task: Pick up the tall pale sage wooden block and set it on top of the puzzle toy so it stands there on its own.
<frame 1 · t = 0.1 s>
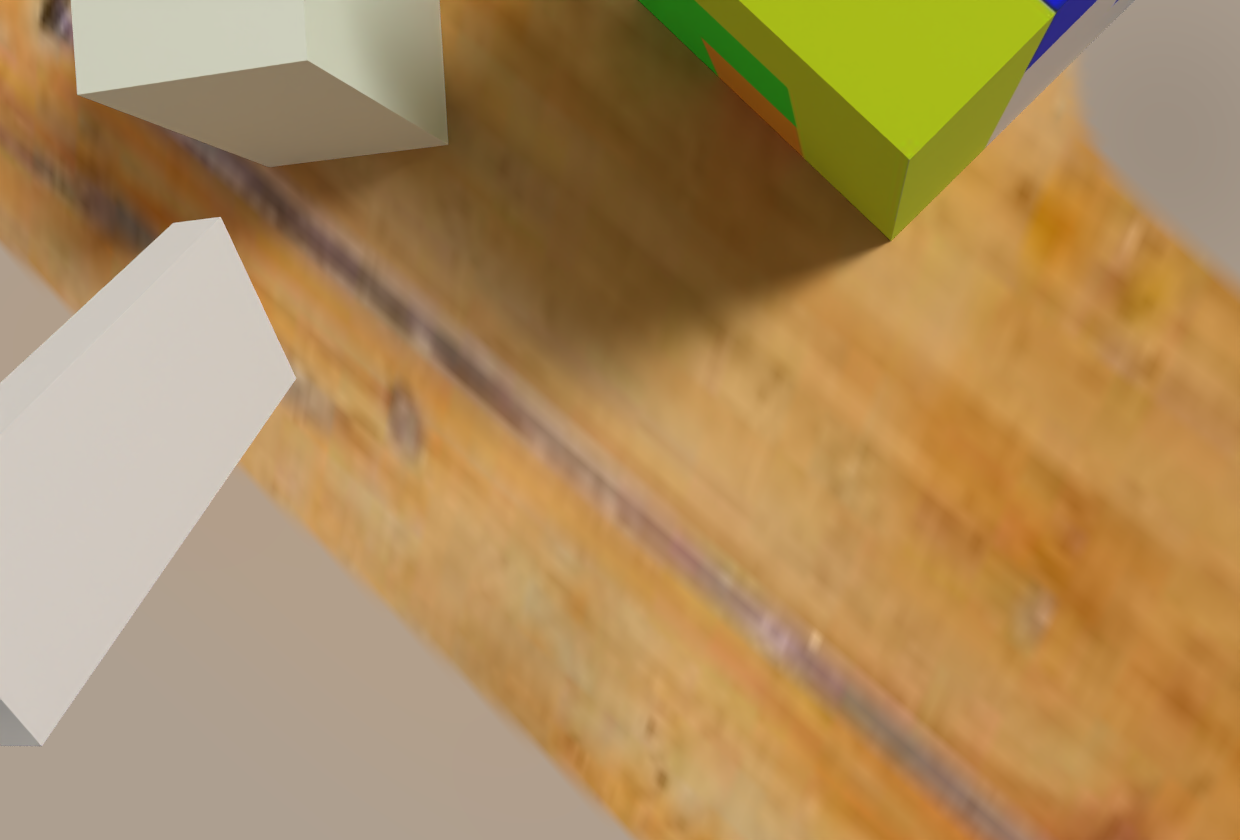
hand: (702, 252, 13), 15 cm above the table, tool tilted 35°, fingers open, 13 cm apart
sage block: (350, 57, 31), on the table
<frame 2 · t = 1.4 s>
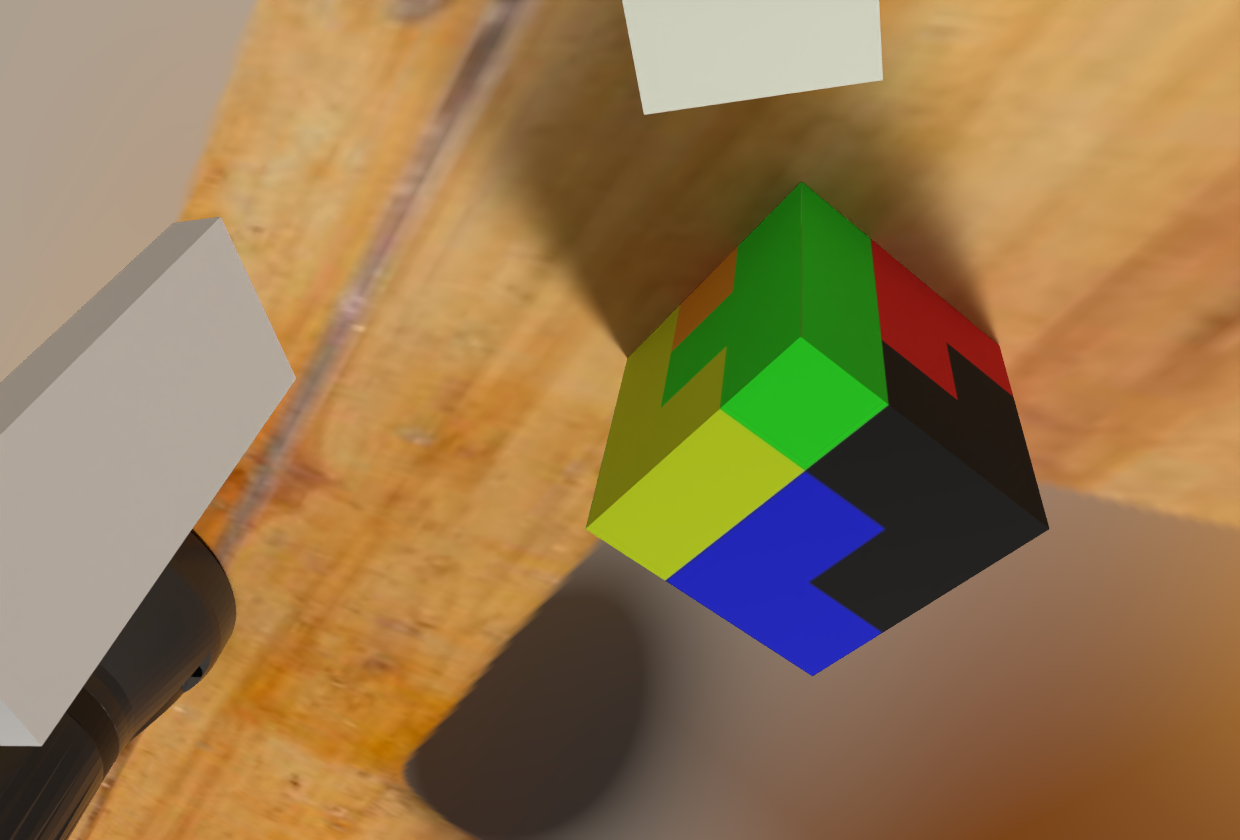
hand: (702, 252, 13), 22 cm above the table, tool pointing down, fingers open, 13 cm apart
puzzle toy: (806, 348, 40), on the table
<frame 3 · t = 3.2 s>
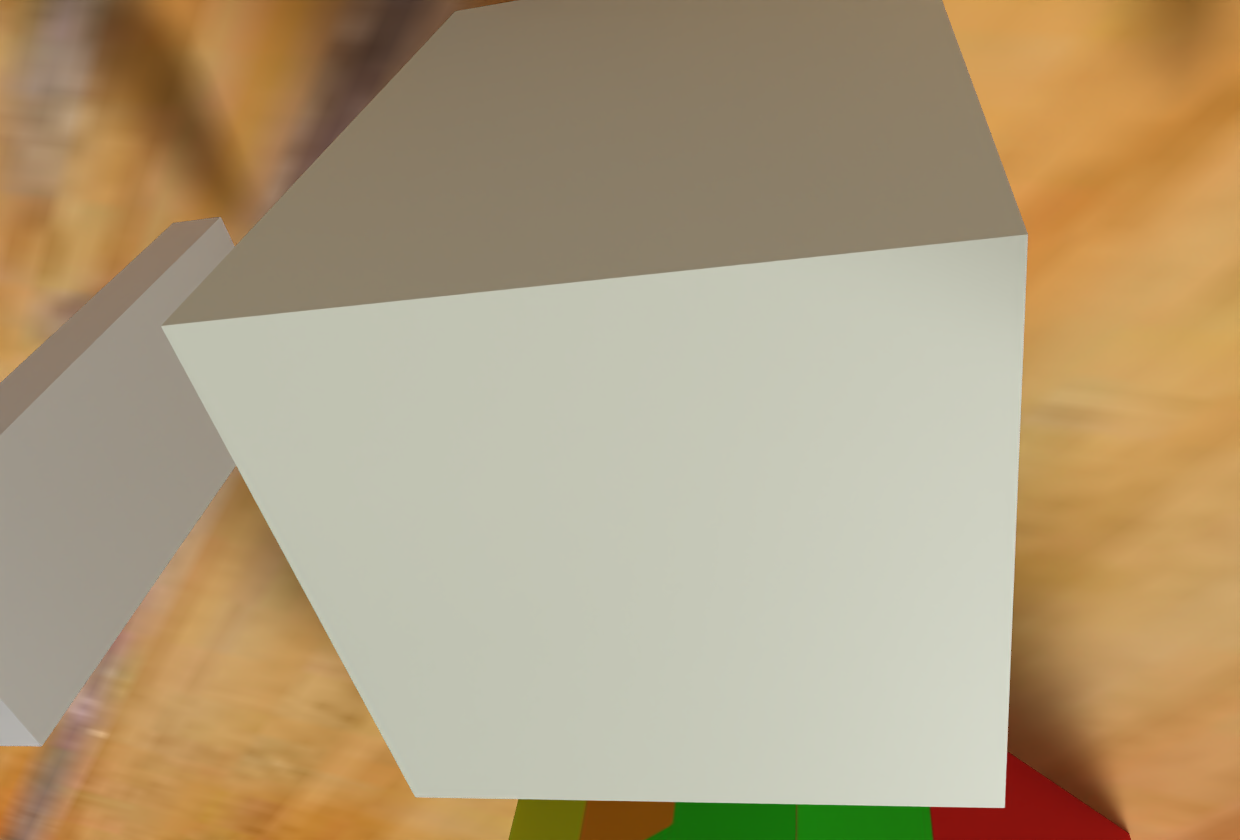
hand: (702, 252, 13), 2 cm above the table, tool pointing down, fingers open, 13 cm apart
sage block: (707, 188, 15), on the table
puzzle toy: (806, 804, 24), on the table
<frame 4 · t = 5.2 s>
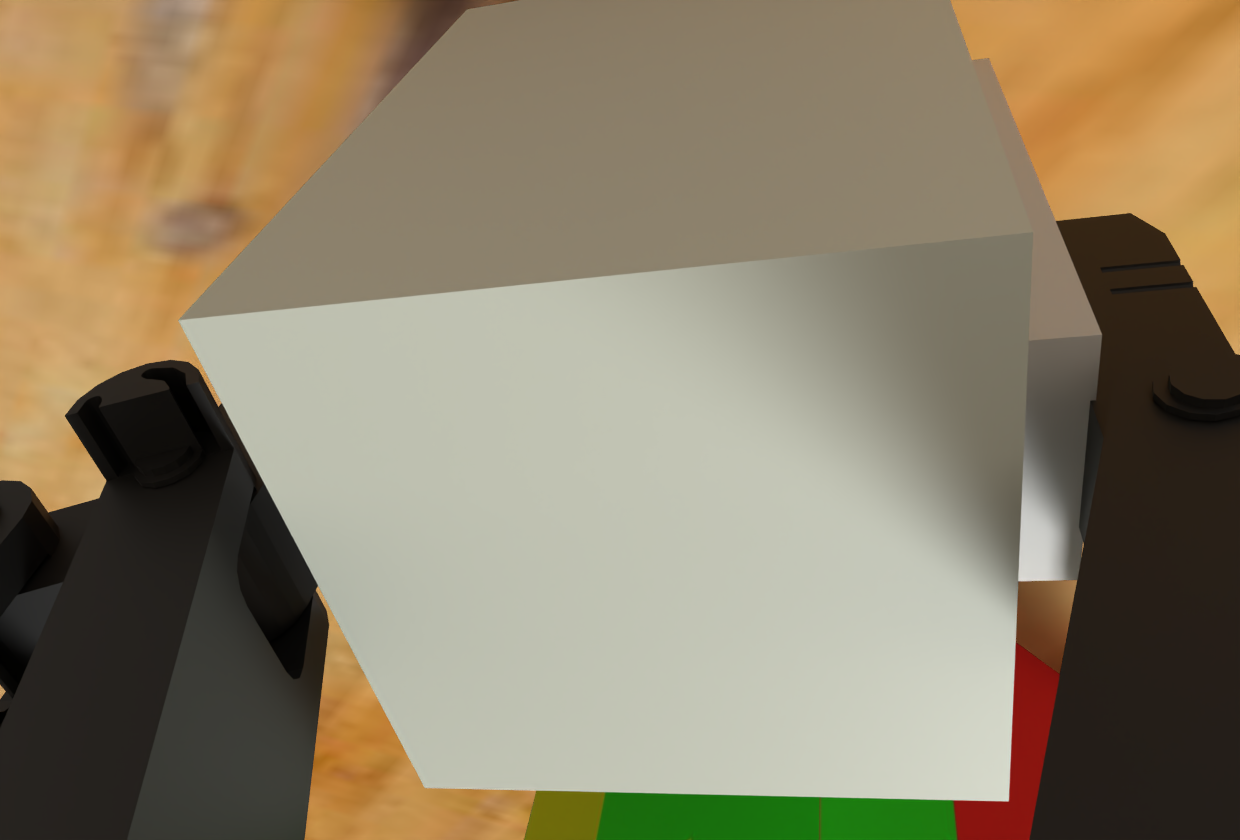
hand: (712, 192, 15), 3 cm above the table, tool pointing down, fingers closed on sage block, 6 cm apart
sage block: (716, 186, 15), point 3 cm above the table, touching gripper
puzzle toy: (826, 697, 26), on the table
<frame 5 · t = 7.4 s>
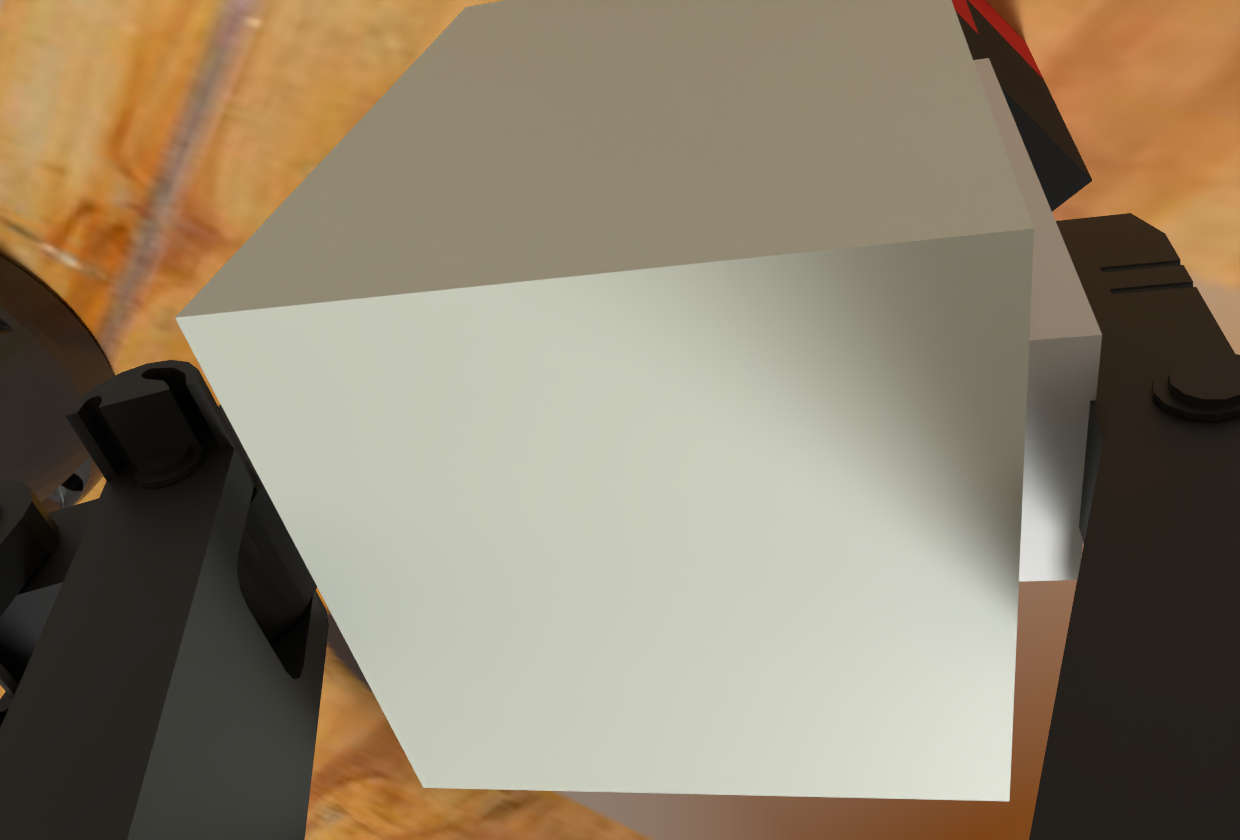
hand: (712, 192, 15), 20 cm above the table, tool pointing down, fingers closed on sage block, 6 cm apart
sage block: (715, 184, 15), point 19 cm above the table, touching gripper
puzzle toy: (791, 51, 33), on the table
when the fingers open (11 cm above the table, at t = 10.0 s): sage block drops 1 cm, resting on puzzle toy.
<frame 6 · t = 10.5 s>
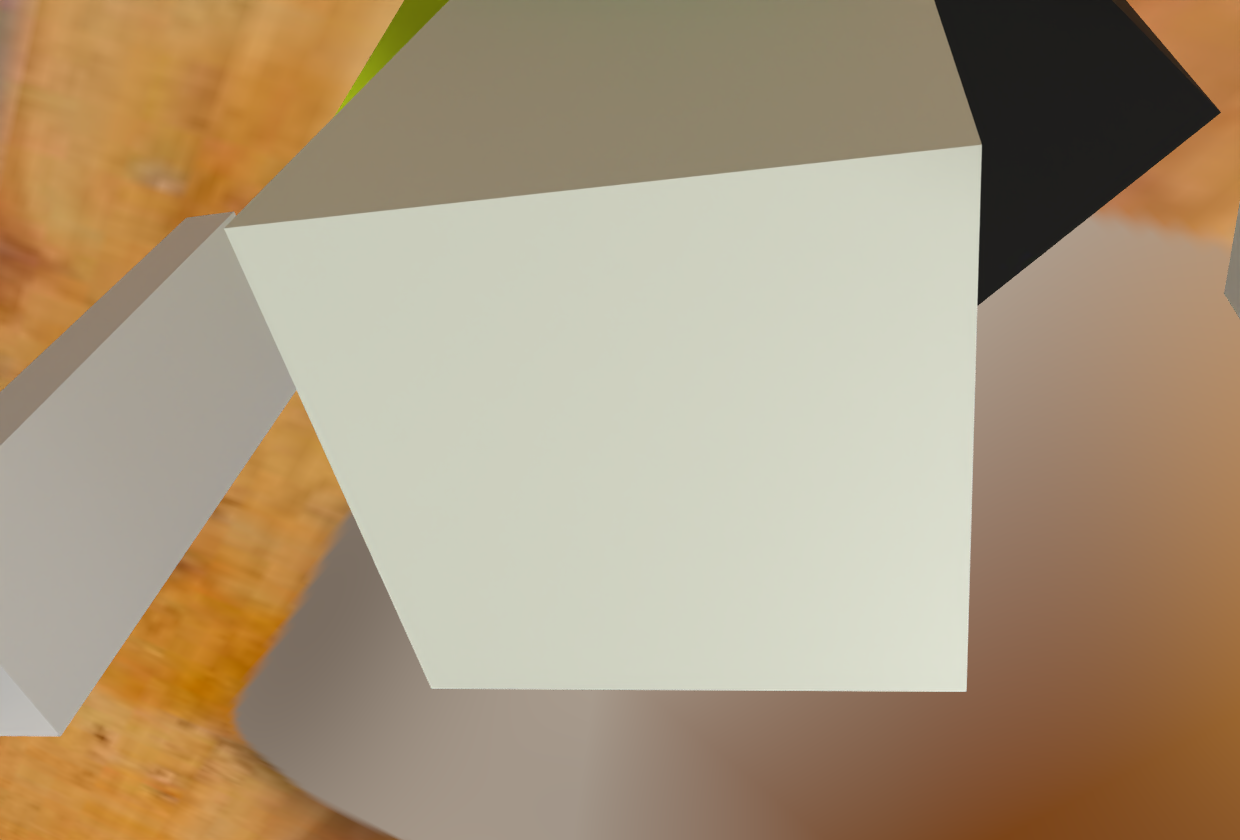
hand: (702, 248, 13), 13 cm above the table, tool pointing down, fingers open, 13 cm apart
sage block: (706, 147, 16), point 10 cm above the table, touching puzzle toy
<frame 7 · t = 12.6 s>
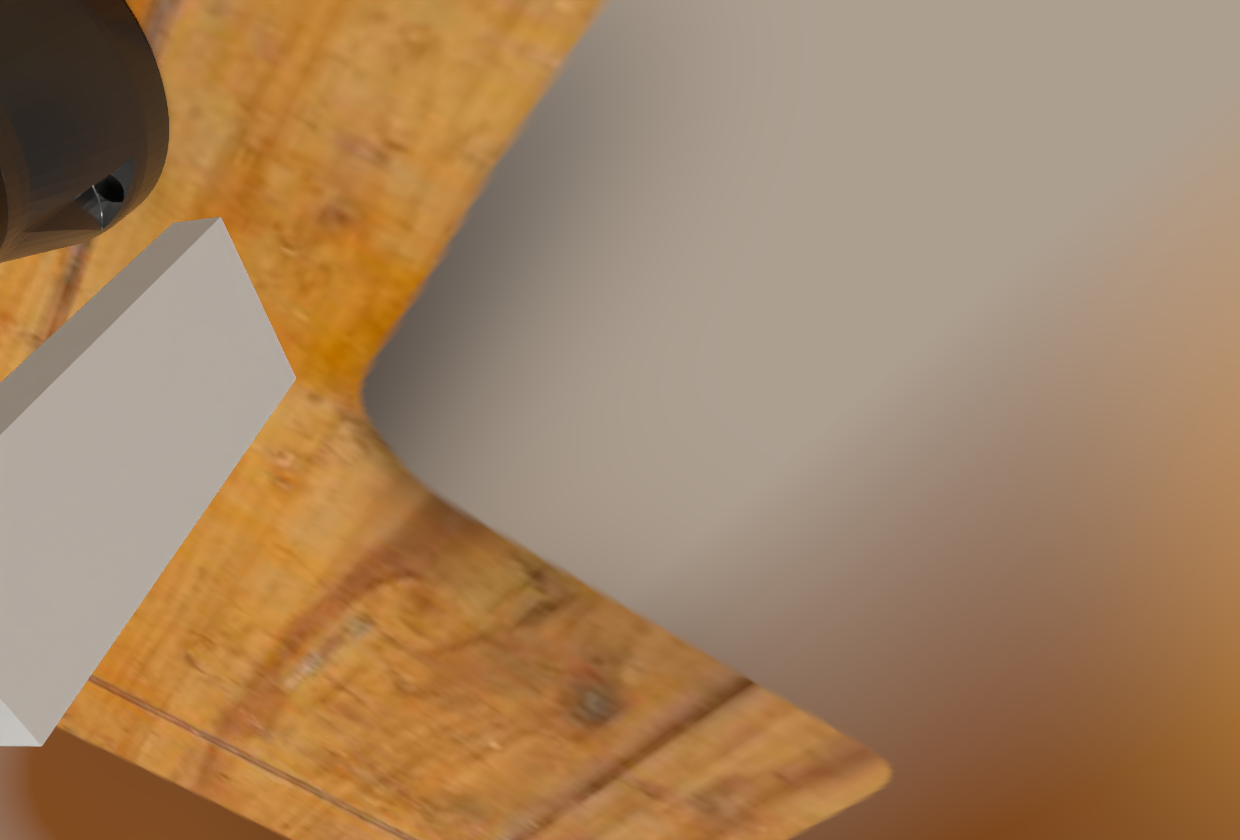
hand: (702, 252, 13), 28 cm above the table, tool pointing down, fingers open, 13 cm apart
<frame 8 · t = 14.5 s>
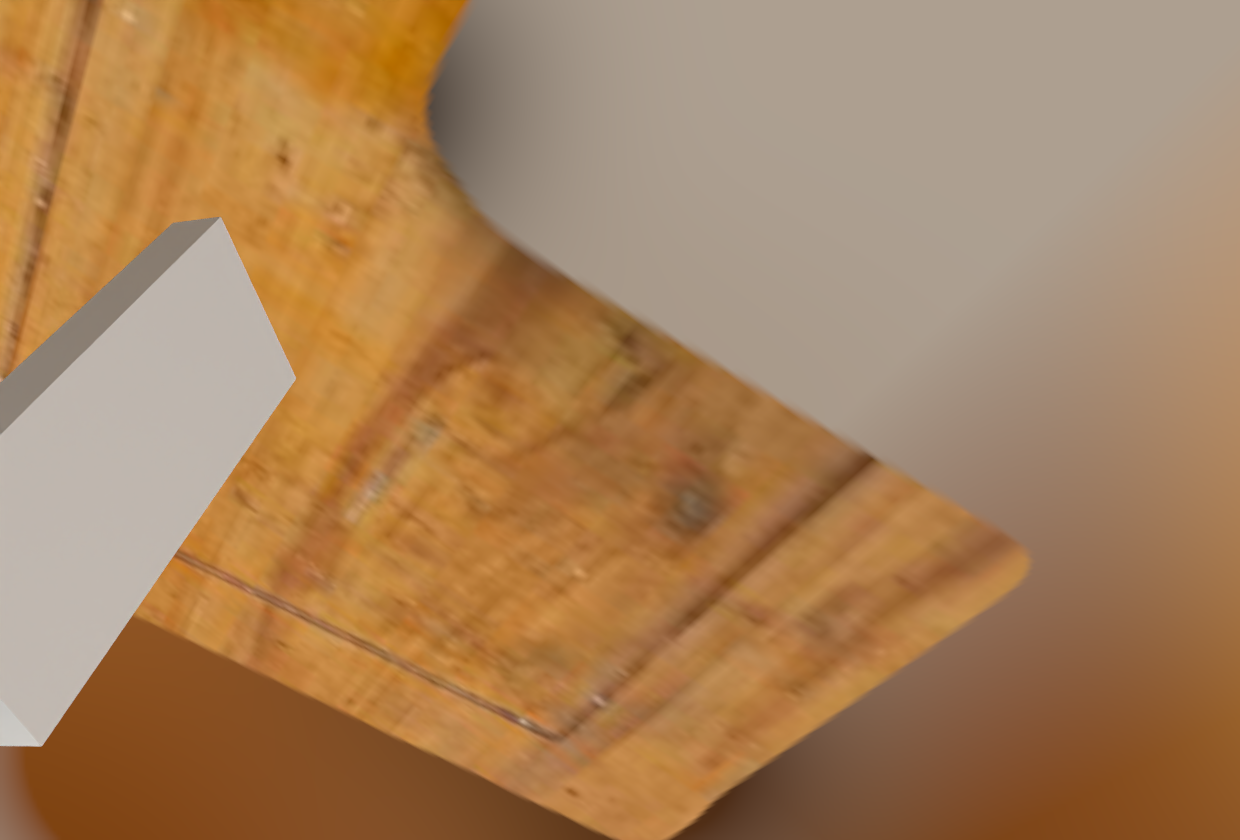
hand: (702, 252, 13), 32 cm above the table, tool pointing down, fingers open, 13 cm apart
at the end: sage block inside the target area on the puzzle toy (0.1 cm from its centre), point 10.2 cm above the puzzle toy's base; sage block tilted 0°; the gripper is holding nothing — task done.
